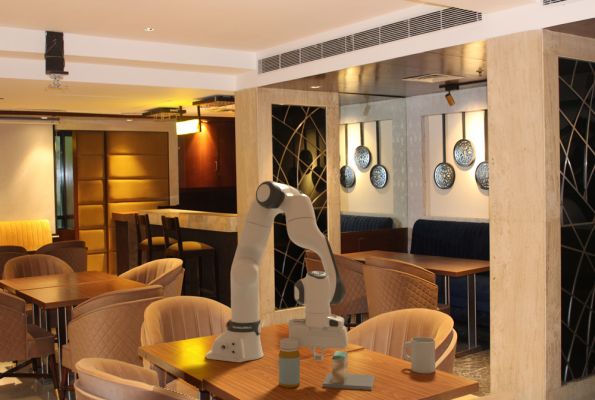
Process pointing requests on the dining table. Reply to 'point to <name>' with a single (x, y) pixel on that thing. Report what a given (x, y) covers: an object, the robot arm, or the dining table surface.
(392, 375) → the dining table surface
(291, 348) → the bottle
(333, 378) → the block
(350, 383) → the board
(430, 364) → the mug
